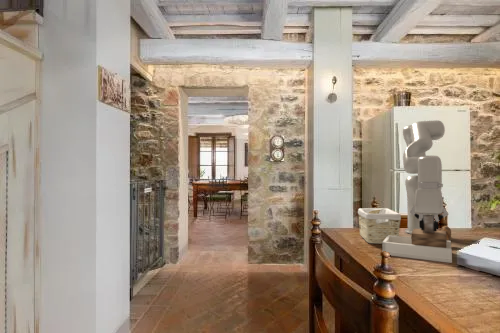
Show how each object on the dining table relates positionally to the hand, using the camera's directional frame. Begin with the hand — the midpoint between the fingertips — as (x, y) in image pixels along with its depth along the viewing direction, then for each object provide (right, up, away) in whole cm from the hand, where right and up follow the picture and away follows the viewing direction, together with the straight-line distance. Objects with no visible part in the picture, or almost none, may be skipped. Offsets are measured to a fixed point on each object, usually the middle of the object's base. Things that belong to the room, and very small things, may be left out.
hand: (428, 230), depth 131 cm
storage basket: (-9, -11, +30) cm, 33 cm away
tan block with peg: (0, -9, 0) cm, 9 cm away
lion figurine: (+12, -10, +13) cm, 20 cm away
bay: (-4, -10, +2) cm, 11 cm away
